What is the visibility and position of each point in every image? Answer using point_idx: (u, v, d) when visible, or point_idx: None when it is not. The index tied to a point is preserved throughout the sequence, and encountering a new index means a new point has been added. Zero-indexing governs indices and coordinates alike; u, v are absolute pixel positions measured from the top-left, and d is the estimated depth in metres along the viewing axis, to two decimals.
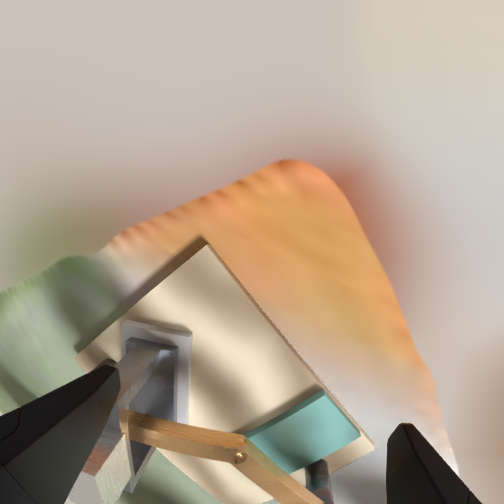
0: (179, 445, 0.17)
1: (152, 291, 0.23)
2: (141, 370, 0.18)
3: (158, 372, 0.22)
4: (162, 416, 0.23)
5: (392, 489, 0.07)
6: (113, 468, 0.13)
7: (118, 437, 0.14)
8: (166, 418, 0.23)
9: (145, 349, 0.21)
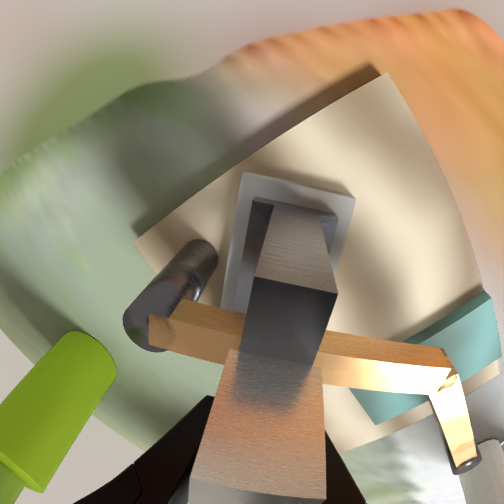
0: (368, 375, 0.11)
1: (297, 127, 0.15)
2: (319, 238, 0.11)
3: None
4: None
5: None
6: None
7: (315, 378, 0.08)
8: None
9: (293, 212, 0.14)
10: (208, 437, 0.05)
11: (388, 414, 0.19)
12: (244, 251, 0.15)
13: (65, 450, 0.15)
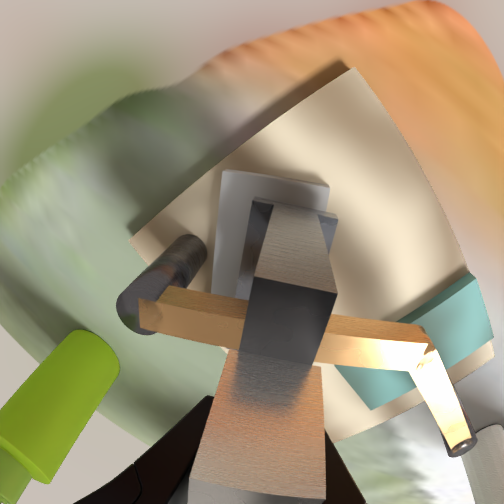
0: (343, 351, 0.12)
1: (272, 124, 0.16)
2: (319, 238, 0.11)
3: None
4: None
5: None
6: None
7: (315, 378, 0.08)
8: None
9: (293, 212, 0.14)
10: (207, 437, 0.05)
11: (382, 399, 0.20)
12: (244, 251, 0.15)
13: (71, 441, 0.17)
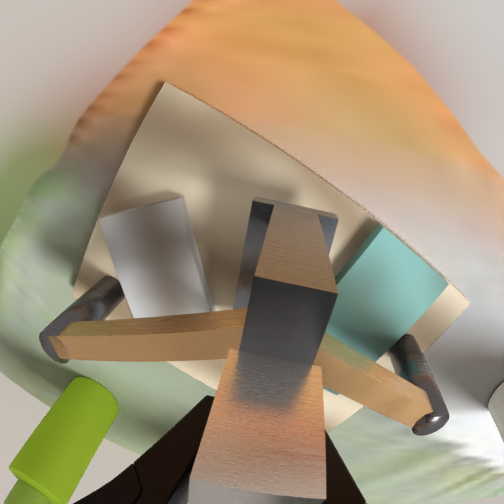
0: (187, 347, 0.13)
1: (122, 165, 0.18)
2: (319, 238, 0.11)
3: None
4: None
5: None
6: None
7: (315, 378, 0.08)
8: None
9: (293, 212, 0.14)
10: (208, 437, 0.05)
11: None
12: (244, 251, 0.15)
13: (77, 468, 0.19)
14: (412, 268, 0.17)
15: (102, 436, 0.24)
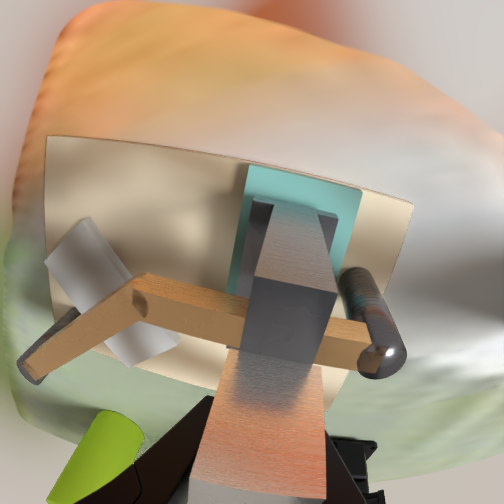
0: (87, 333, 0.13)
1: (45, 212, 0.20)
2: (319, 238, 0.11)
3: None
4: None
5: None
6: None
7: (315, 378, 0.08)
8: None
9: (293, 211, 0.14)
10: (208, 437, 0.05)
11: None
12: (244, 251, 0.15)
13: None
14: (305, 192, 0.16)
15: (128, 460, 0.25)
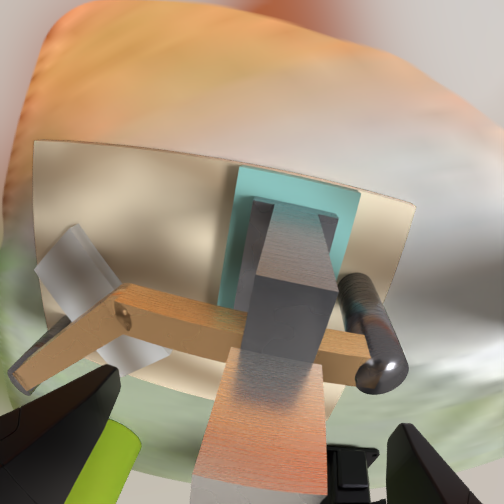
0: (72, 345, 0.12)
1: (34, 219, 0.19)
2: (319, 237, 0.11)
3: None
4: None
5: (392, 489, 0.07)
6: None
7: (316, 376, 0.08)
8: None
9: (294, 211, 0.14)
10: (210, 434, 0.05)
11: None
12: (245, 250, 0.15)
13: (101, 501, 0.19)
14: (299, 195, 0.15)
15: (125, 468, 0.24)
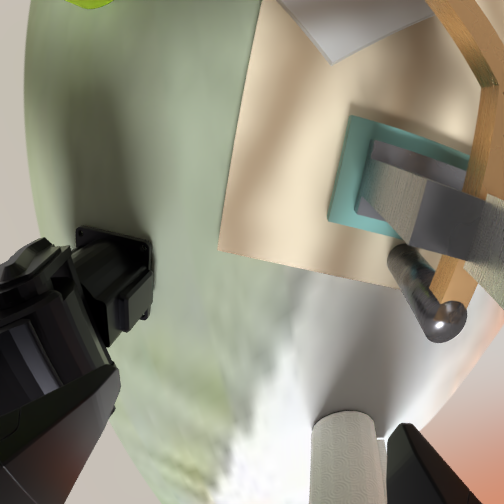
0: (466, 7, 0.07)
1: None
2: None
3: None
4: None
5: (392, 489, 0.07)
6: None
7: None
8: None
9: None
10: None
11: (353, 215, 0.17)
12: None
13: None
14: None
15: None
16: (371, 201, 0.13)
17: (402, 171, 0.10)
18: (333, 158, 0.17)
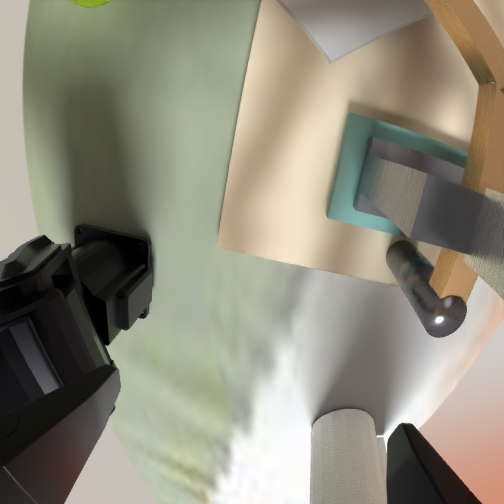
0: (464, 6, 0.07)
1: None
2: None
3: None
4: None
5: (392, 489, 0.07)
6: None
7: None
8: None
9: None
10: None
11: (352, 212, 0.17)
12: None
13: None
14: None
15: None
16: (371, 197, 0.14)
17: (402, 166, 0.10)
18: (332, 155, 0.17)
